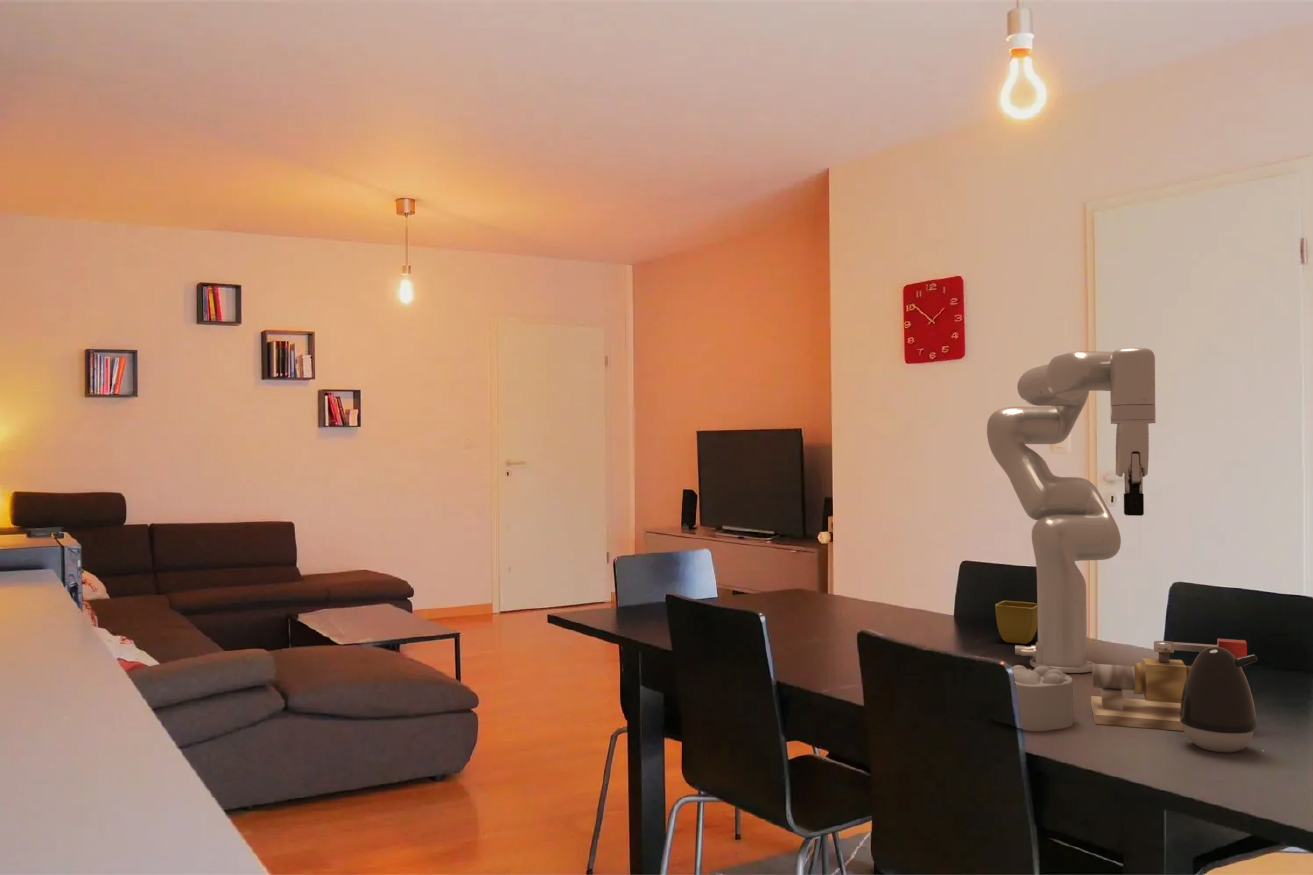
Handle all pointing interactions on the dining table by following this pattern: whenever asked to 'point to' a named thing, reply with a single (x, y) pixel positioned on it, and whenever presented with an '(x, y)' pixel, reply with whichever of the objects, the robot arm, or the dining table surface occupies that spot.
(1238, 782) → the dining table surface
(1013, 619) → the flower pot
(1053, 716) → the lumpy-topped squat cylinder
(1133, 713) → the valve bench
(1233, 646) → the valve lever
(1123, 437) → the robot arm
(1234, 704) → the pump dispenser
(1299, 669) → the dining table surface
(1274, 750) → the dining table surface
